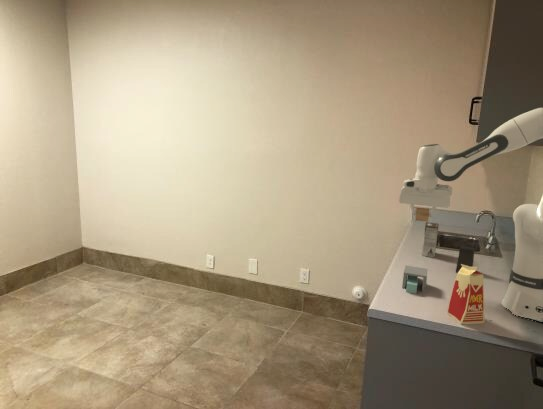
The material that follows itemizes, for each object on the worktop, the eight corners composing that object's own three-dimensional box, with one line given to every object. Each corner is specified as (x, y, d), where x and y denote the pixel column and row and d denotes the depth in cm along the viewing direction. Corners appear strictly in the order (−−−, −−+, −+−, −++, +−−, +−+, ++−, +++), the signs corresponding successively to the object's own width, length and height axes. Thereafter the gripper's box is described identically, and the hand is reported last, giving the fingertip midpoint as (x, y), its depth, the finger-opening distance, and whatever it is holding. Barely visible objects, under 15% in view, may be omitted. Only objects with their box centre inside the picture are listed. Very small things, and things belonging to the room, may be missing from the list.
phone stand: (469, 275, 179) (473, 250, 176) (455, 272, 182) (458, 247, 180) (472, 269, 186) (476, 245, 184) (458, 266, 190) (462, 243, 187)
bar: (407, 276, 176) (408, 268, 175) (416, 278, 175) (417, 269, 174) (405, 292, 159) (406, 283, 159) (416, 294, 158) (417, 285, 157)
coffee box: (422, 250, 212) (425, 221, 208) (434, 252, 210) (438, 223, 206) (421, 255, 203) (425, 225, 200) (434, 257, 201) (438, 227, 198)
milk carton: (484, 323, 136) (493, 268, 132) (461, 325, 134) (469, 270, 130) (466, 310, 145) (474, 259, 141) (444, 312, 143) (451, 260, 139)
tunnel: (403, 280, 171) (405, 265, 170) (425, 283, 168) (427, 268, 166) (402, 287, 163) (403, 272, 162) (425, 292, 160) (427, 276, 158)
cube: (415, 218, 170) (416, 206, 169) (427, 219, 169) (429, 208, 168) (415, 220, 166) (416, 208, 165) (428, 221, 164) (429, 209, 163)
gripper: (452, 184, 163) (448, 216, 166) (401, 180, 170) (397, 211, 173) (453, 186, 157) (449, 220, 160) (399, 182, 164) (396, 214, 167)
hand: (422, 215), depth 167 cm, fingers closed on cube, 5 cm apart
